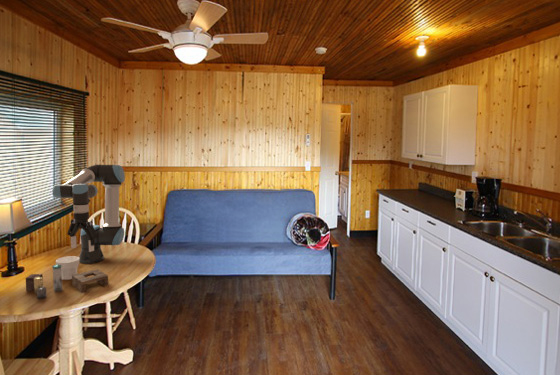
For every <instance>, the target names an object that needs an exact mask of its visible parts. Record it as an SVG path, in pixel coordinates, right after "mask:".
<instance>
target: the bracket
mask: <svg viewBox="0 0 560 375" xmlns="http://www.w3.org/2000/svg"><path fill="white" fill-rule="evenodd" d="M95 282H97V283H98V284H100V285H102V286H103V285H104V286H103V287H108V286H109V275H108V274H106V273H105V272H103V271H101V270H100V269H98V268H95V269H92V270H88V271H84V272H79V273H77V274H75V275H72V279H71V283H72V284H71V286H72V287H74V288H75V289H76V290H78V291H79V292H81V293H86V292H87V284H90V283H95ZM107 285H108V286H107Z"/></svg>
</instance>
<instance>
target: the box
mask: <svg viewBox="0 0 560 375" xmlns="http://www.w3.org/2000/svg"><path fill="white" fill-rule="evenodd" d="M36 277H43V273H31V274H30V275H28V276H26V277H25V288H26V289H25V290H26V292H29V291H30V292H33V291H34V278H36ZM34 292H35V291H34Z"/></svg>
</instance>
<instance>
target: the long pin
mask: <svg viewBox="0 0 560 375" xmlns="http://www.w3.org/2000/svg"><path fill="white" fill-rule="evenodd" d="M52 281H53V282H52V284H53V292H55V293H60V292H62V291H63V280H62V274H61V265H59V264H58V265H56V264H54V265H52Z"/></svg>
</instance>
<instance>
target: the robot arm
mask: <svg viewBox="0 0 560 375" xmlns="http://www.w3.org/2000/svg"><path fill="white" fill-rule="evenodd" d="M125 175H126V174H125V169H124V168H123V167H122V166H121V165H119V164H93V165H89V166H88V167H85V168H84V169H82V170H81V171H80V172H79V174H77V175H75V176H74V177H72V178H71V179H70V180H68V181H66V182H65V183H63V184H55V185H53V187H52V191H51V192H52V196H53V197H54V198H55V199H56V198H57V199H58V198H59V199H72V205H73V206H72V207H73V218H72V219H70V224H69V228H68V231H67V233H66V234H67V236H69V237H70V238H69V239H70V246H71V249H75V248H77V236H76V234H77V233H78V231H79V229H80V253H79V255H78V257H79V258H80V260H79V264H80V263H81V264H95V263H99V262H102V261H104V260H105V257H104V253H103V251H102V248H101V246H119V245H121V244H122V243H123V240H124V238H125V237H124V236H125V229H124V228H123V227H122V224H121V223H120V188H121V186H122V183H124V182H125V178H126V176H125ZM91 183H102V186H103V187H104V190H105V191H104V192H105V193H104V224H102V226H100V225H98V224H94V225H93V222H94V221H92V220H91V221H89V218H90V212H89V211H90V208H89V207H90V206H89V203H90V202H89V199H92V198H94V197H96V196H97V194H98V188H97V186H95V184H91Z"/></svg>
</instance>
